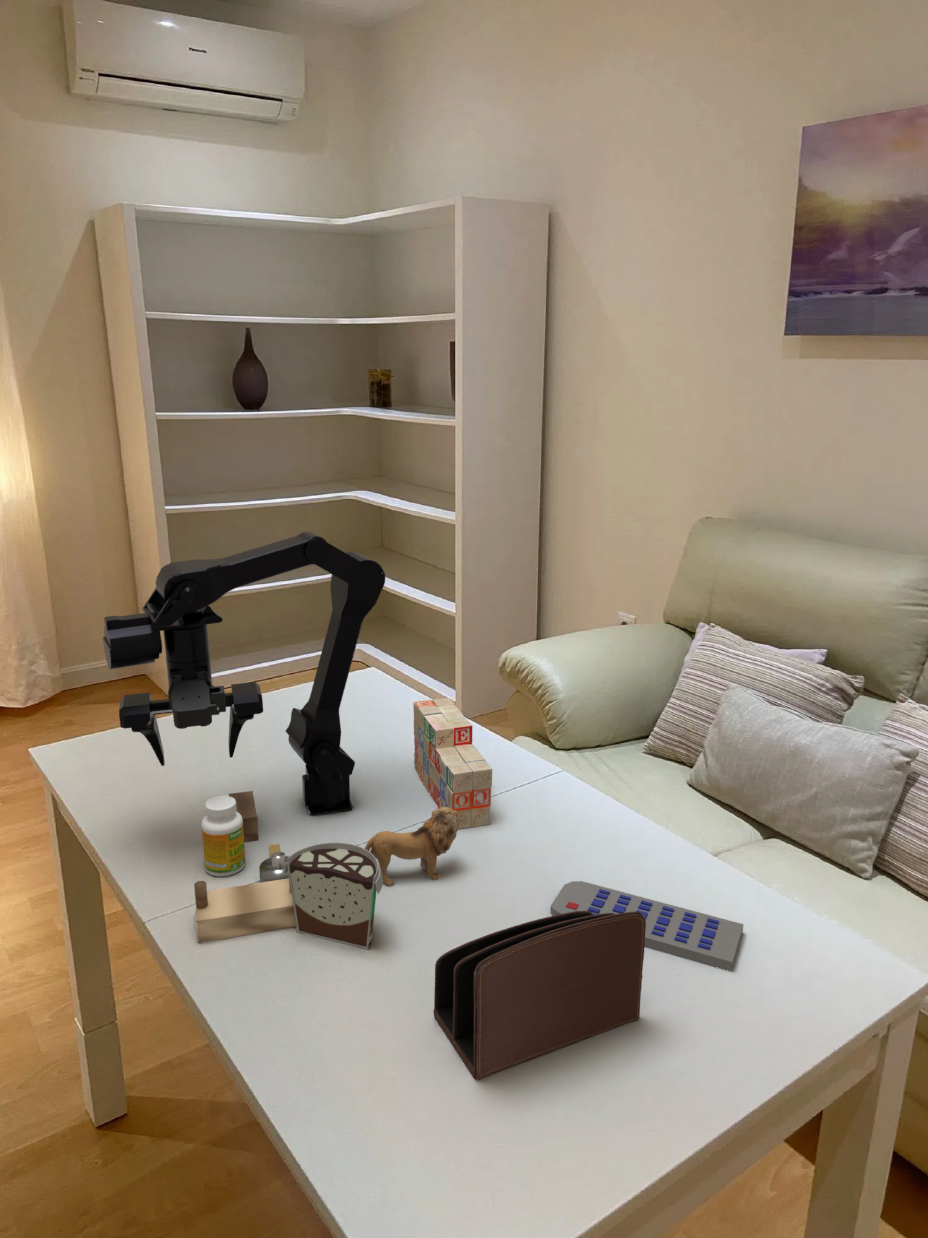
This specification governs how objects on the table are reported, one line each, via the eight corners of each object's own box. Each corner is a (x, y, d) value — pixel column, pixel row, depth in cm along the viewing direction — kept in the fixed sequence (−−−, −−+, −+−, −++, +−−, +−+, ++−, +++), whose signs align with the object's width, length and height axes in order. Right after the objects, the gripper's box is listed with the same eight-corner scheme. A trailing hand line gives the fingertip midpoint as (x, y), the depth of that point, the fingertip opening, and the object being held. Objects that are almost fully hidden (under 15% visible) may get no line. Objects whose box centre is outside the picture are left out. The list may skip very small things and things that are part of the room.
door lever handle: (292, 854, 127) (291, 830, 126) (300, 888, 120) (299, 862, 118) (256, 859, 126) (254, 835, 125) (261, 894, 118) (260, 868, 117)
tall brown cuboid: (254, 814, 138) (252, 790, 137) (258, 841, 131) (257, 816, 130) (230, 817, 137) (228, 793, 136) (233, 845, 130) (231, 820, 129)
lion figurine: (451, 855, 128) (451, 797, 125) (464, 875, 123) (465, 815, 120) (348, 875, 123) (346, 815, 120) (358, 897, 118) (356, 835, 115)
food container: (400, 922, 113) (399, 851, 110) (379, 952, 107) (378, 878, 104) (310, 902, 117) (307, 832, 114) (286, 930, 111) (282, 857, 108)
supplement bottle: (235, 880, 121) (230, 814, 118) (197, 875, 122) (192, 810, 119) (252, 858, 126) (248, 795, 123) (215, 853, 127) (211, 791, 124)
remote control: (730, 976, 105) (732, 960, 104) (546, 921, 114) (547, 906, 114) (742, 937, 112) (744, 922, 111) (567, 888, 121) (568, 874, 120)
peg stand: (298, 897, 118) (297, 856, 116) (305, 925, 112) (303, 882, 110) (197, 913, 114) (193, 871, 112) (198, 943, 109) (194, 899, 107)
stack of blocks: (491, 825, 136) (493, 750, 132) (451, 832, 134) (451, 755, 130) (449, 763, 155) (449, 696, 152) (413, 768, 153) (413, 700, 150)
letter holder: (640, 1020, 98) (650, 906, 93) (475, 1083, 89) (477, 961, 85) (588, 965, 106) (595, 858, 102) (432, 1017, 98) (432, 903, 93)
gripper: (111, 684, 114) (124, 796, 119) (263, 669, 119) (270, 777, 124) (116, 655, 124) (128, 759, 129) (256, 643, 130) (262, 743, 134)
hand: (197, 760), depth 129 cm, fingers open, 9 cm apart
